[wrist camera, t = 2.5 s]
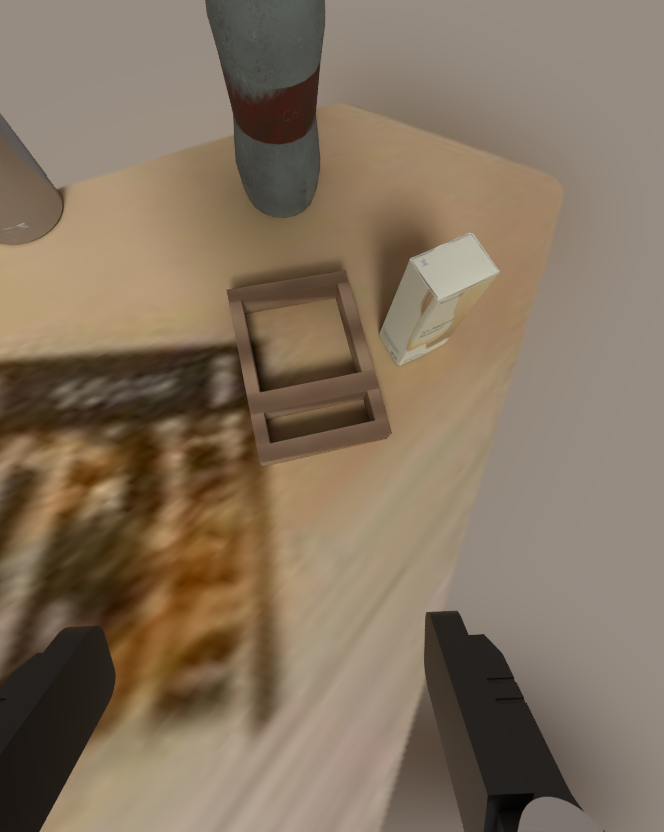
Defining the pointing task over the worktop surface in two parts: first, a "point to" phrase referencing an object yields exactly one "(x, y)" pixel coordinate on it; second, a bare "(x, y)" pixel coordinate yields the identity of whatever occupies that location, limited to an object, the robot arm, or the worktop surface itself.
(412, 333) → the skincare box
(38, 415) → the worktop surface
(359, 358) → the slot holder
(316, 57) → the bottle
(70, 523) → the worktop surface
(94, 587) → the worktop surface
